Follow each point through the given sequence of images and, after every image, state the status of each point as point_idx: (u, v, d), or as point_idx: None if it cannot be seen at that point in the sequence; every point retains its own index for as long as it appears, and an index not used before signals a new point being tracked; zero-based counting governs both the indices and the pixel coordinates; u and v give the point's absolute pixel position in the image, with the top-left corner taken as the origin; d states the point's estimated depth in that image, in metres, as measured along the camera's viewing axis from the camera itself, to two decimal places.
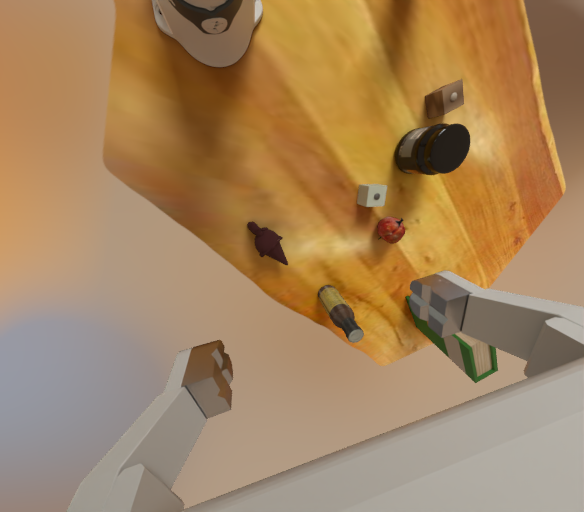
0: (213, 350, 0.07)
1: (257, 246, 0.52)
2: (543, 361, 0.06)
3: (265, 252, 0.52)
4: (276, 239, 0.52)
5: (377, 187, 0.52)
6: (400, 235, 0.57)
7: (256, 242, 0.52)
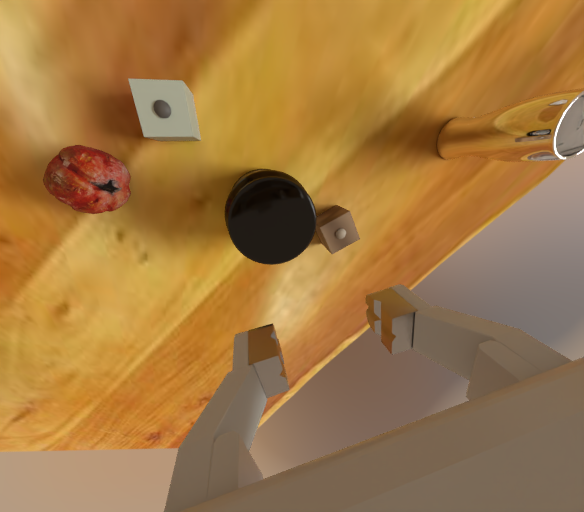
0: (271, 332, 0.07)
1: None
2: (479, 385, 0.06)
3: None
4: None
5: (184, 108, 0.23)
6: (66, 190, 0.22)
7: None
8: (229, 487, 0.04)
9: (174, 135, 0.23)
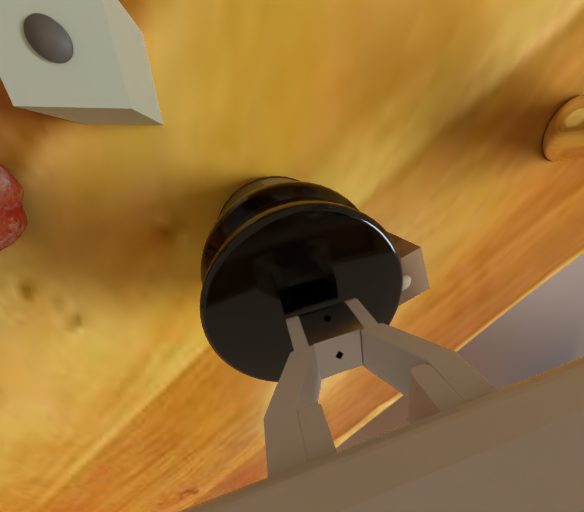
0: (323, 316, 0.08)
1: None
2: (414, 410, 0.05)
3: None
4: None
5: (105, 39, 0.10)
6: None
7: None
8: (326, 450, 0.04)
9: (87, 105, 0.11)
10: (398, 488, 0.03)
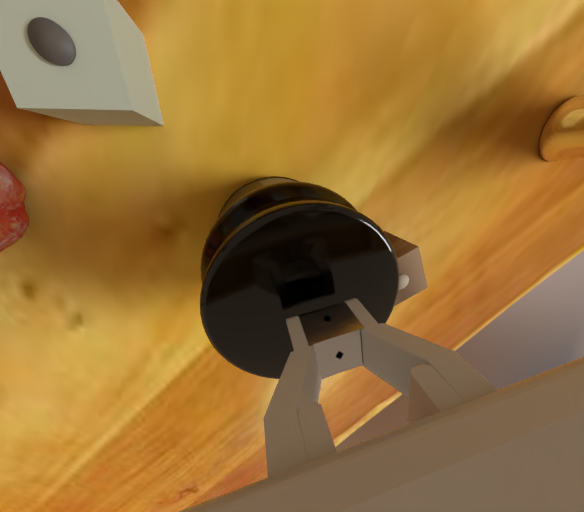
0: (323, 317, 0.08)
1: None
2: (414, 410, 0.05)
3: None
4: None
5: (107, 43, 0.10)
6: None
7: None
8: (326, 450, 0.04)
9: (90, 106, 0.11)
10: (398, 488, 0.03)
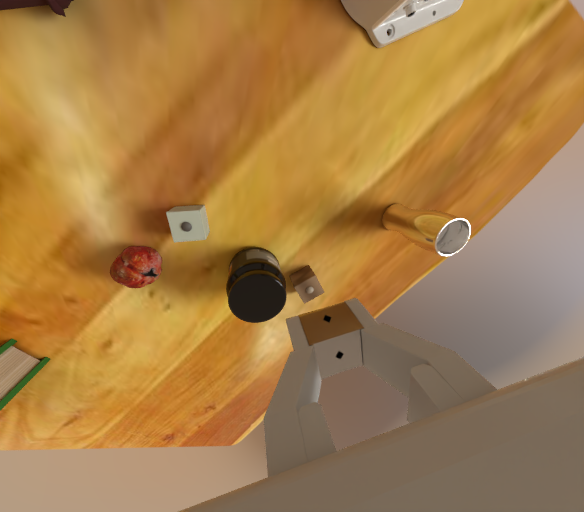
0: (323, 316, 0.08)
1: None
2: (414, 409, 0.06)
3: None
4: None
5: (200, 224, 0.35)
6: (126, 280, 0.34)
7: None
8: (326, 450, 0.04)
9: (193, 240, 0.36)
10: (398, 488, 0.03)
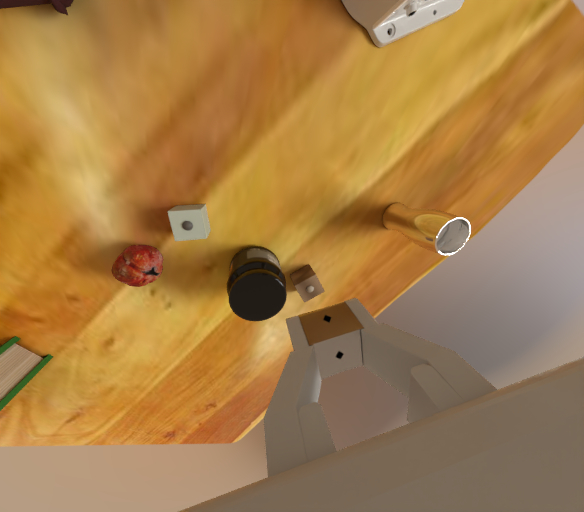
0: (323, 316, 0.08)
1: None
2: (414, 410, 0.05)
3: None
4: None
5: (201, 223, 0.35)
6: (127, 278, 0.34)
7: None
8: (326, 450, 0.04)
9: (194, 238, 0.36)
10: (398, 488, 0.03)
